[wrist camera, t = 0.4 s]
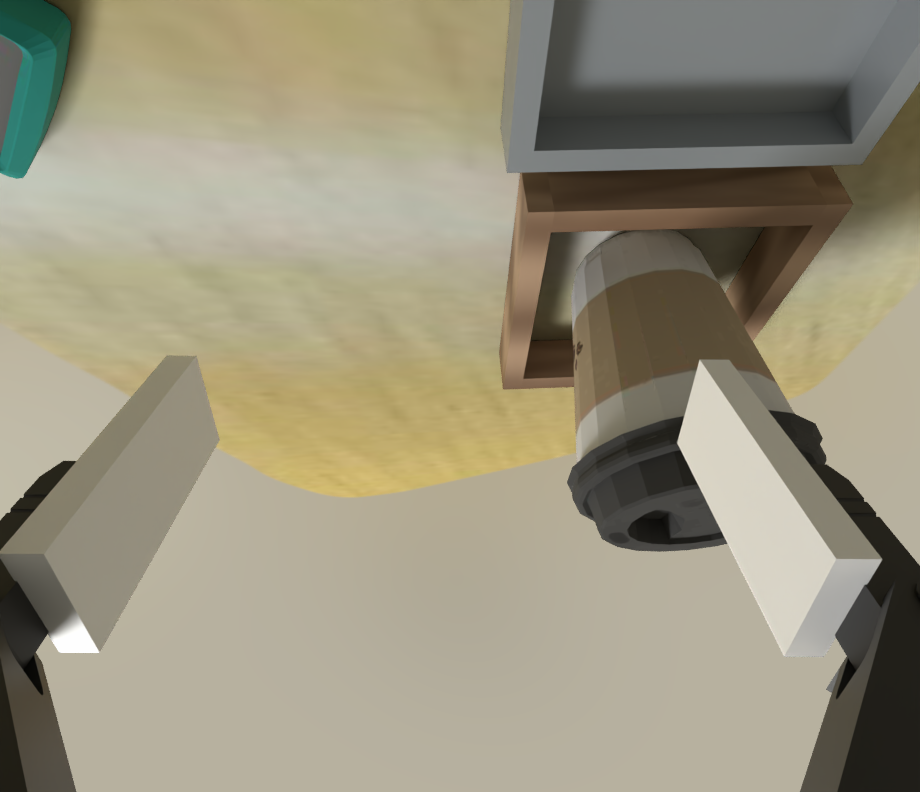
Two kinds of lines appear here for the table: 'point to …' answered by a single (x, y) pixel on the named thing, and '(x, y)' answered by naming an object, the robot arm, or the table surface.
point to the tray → (703, 82)
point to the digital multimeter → (29, 78)
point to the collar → (664, 207)
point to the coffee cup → (654, 387)
